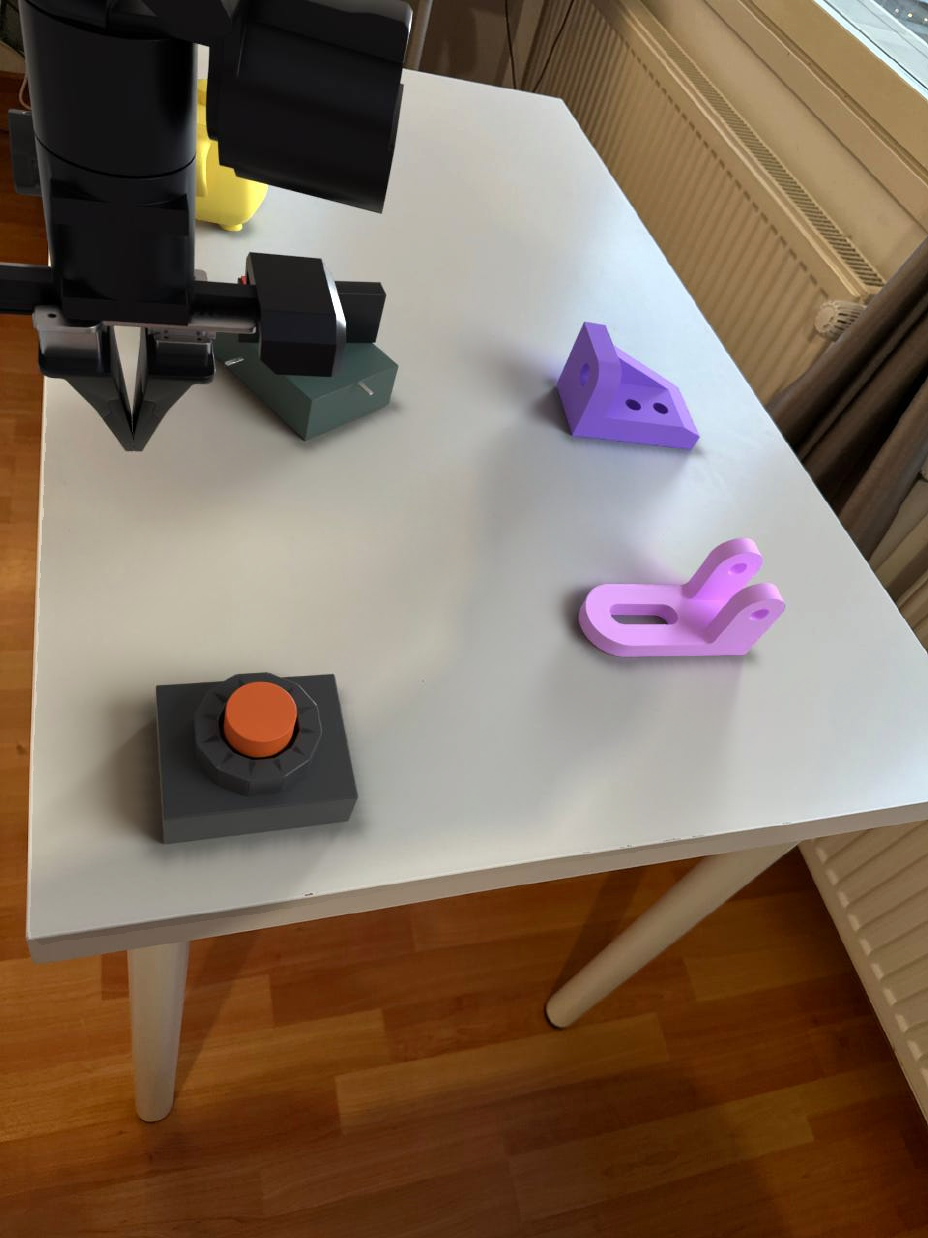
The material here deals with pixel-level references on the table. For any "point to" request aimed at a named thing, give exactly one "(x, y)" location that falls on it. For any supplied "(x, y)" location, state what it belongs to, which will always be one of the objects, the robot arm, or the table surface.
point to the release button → (259, 719)
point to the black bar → (349, 311)
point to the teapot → (220, 180)
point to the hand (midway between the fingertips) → (133, 445)
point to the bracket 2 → (688, 609)
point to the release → (250, 762)
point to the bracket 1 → (621, 396)
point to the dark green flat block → (314, 385)
